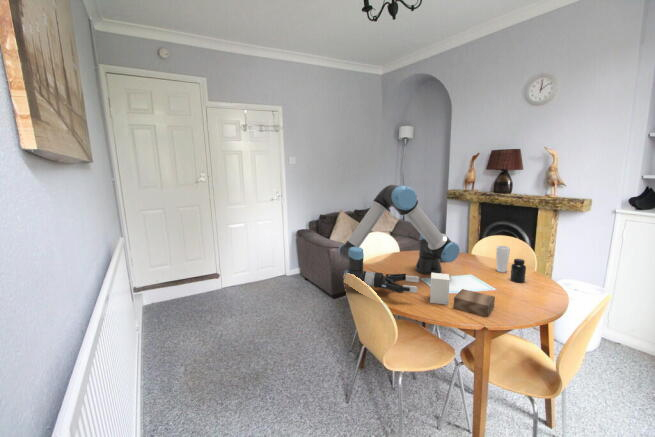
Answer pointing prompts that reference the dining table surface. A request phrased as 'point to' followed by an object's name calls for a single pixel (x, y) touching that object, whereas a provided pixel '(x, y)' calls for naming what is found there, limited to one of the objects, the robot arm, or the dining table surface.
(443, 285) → the upright white rectangular block
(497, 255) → the drinking glass
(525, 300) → the dining table surface
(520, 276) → the supplement bottle
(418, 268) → the robot arm
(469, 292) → the walnut stand
